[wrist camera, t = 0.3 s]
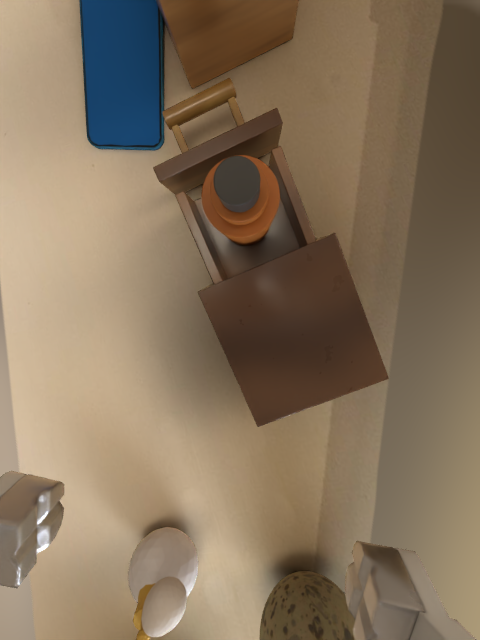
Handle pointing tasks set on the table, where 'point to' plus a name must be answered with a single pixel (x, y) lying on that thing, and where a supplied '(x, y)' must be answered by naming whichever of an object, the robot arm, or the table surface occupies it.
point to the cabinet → (295, 331)
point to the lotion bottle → (241, 198)
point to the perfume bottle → (161, 580)
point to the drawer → (197, 162)
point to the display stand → (225, 32)
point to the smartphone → (123, 73)
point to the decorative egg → (306, 610)
